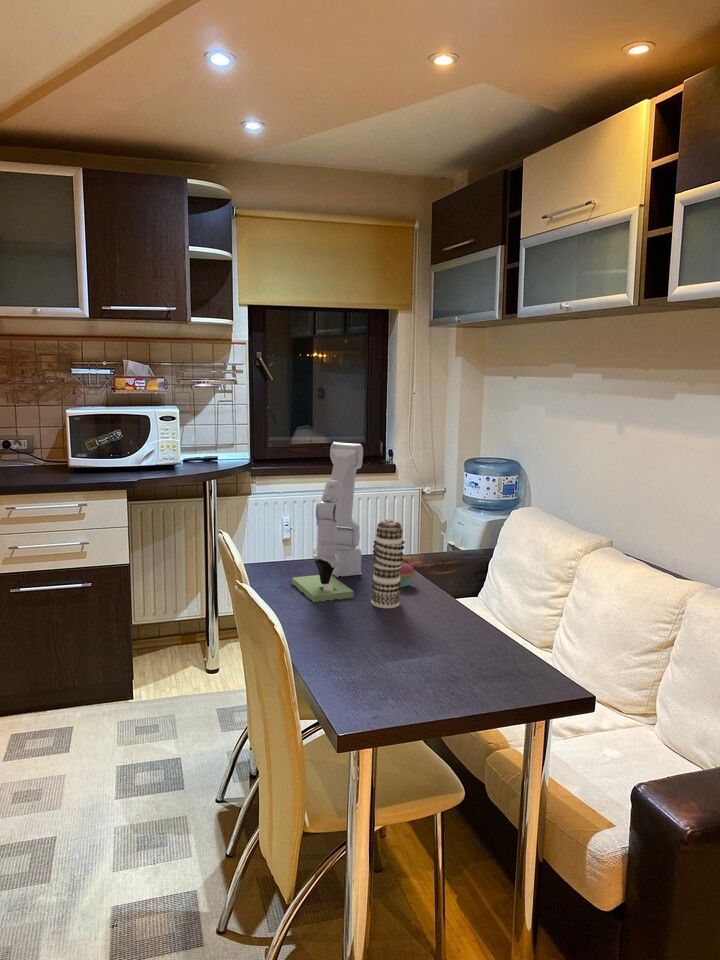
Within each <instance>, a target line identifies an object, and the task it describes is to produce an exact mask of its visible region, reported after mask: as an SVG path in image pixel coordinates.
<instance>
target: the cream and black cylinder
mask: <svg viewBox="0 0 720 960" xmlns="http://www.w3.org/2000/svg"><path fill="white" fill-rule="evenodd" d="M375 528H376V535H375V540H373V545H372V547H373V550H372V553H373V557H372V560H373V562H372V566H374V573H373V577H372V578H373V579H372V580H371V582H372V585H371V588H372V590H371V597H370V599H371V602H370V603H371V605H372V606H374V607H377V608H381V609H394V608H398V607H399V606H400V604H401V603H400V600H401V598H400V596H401V593H400V592H401V588H402V587H400V584H401V582H400V568H401V567H402V564H401V563H402V562H403V560H404V558H403V556H404V553H403V551H402V550H404V549H405V546H404V544H405V543H406V542H405V540H403V539H404V538H403V531H404V526H402V524H401V523H400V522H399V521H397V520H396V519H395V520H394V519H382V520H380V521H379V522H378V524H376V525H375ZM400 561H401V563H400Z"/></svg>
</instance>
